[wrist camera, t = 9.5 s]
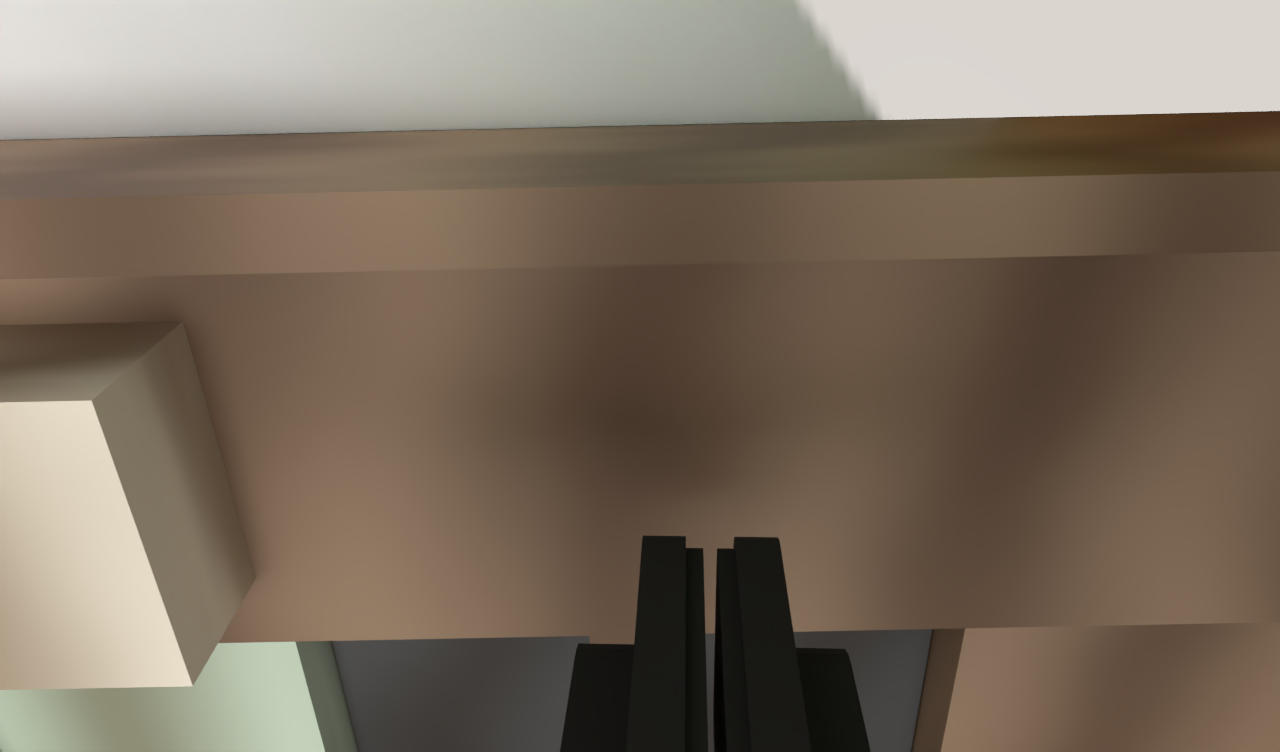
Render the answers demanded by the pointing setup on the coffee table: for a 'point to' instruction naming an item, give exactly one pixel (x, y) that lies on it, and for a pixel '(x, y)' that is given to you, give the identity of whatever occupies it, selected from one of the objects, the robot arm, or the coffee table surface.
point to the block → (111, 510)
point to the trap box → (704, 415)
